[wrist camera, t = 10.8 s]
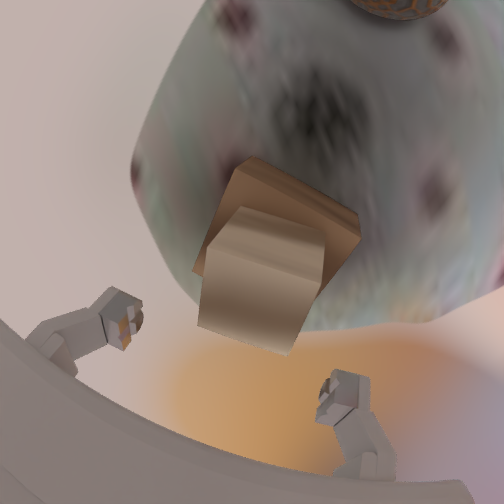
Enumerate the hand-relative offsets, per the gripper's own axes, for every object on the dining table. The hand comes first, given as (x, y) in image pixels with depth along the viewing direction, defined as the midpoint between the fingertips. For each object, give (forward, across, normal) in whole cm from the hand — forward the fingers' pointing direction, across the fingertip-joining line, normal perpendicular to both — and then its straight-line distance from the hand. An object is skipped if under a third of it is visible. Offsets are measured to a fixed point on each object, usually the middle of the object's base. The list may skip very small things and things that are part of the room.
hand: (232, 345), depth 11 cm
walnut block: (+12, 0, +1) cm, 12 cm away
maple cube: (+8, 0, 0) cm, 8 cm away
